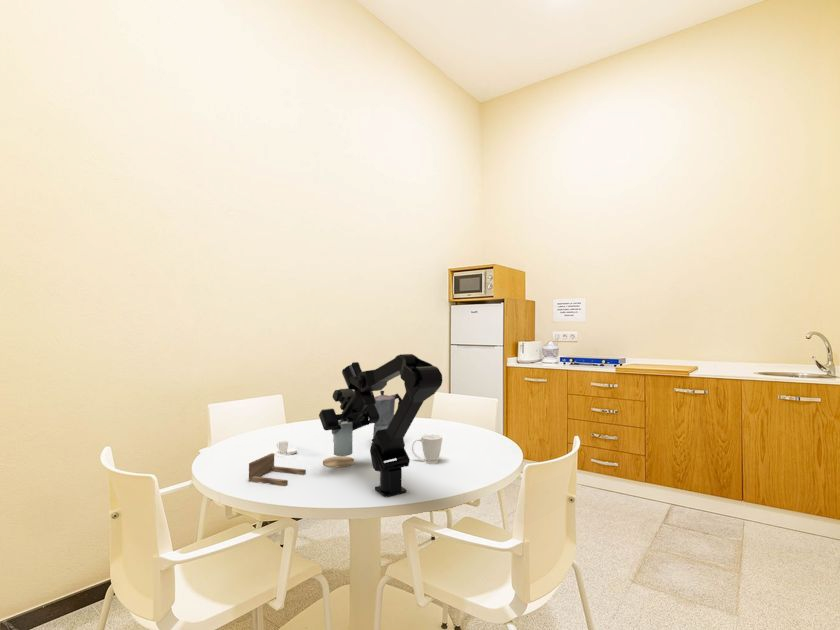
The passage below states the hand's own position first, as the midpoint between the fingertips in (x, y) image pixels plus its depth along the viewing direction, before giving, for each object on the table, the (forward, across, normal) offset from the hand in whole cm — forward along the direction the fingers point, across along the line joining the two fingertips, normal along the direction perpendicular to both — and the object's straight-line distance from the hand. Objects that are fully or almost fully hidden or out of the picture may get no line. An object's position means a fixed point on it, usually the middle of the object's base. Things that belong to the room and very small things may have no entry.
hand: (341, 431), depth 135 cm
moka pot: (+15, -24, -1) cm, 29 cm away
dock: (+7, +20, +7) cm, 23 cm away
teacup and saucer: (+22, +12, -7) cm, 26 cm away
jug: (+5, 0, +5) cm, 7 cm away
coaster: (+8, 0, +6) cm, 10 cm away
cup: (-3, -24, +18) cm, 30 cm away
